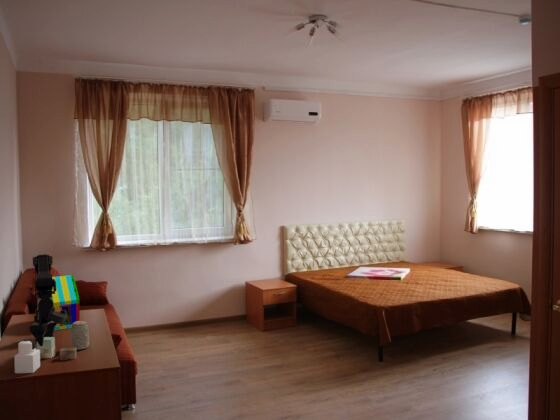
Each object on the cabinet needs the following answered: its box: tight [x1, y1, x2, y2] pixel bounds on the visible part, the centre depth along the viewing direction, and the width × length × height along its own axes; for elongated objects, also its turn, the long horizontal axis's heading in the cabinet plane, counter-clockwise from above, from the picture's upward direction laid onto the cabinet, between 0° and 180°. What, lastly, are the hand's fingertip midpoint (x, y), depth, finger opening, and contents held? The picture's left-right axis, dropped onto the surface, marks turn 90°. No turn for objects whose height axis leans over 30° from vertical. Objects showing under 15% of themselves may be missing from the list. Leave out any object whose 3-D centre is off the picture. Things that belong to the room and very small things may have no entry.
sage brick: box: [36, 336, 56, 350], centre depth 214 cm, size 6×4×4 cm, turn 92°
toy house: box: [52, 274, 81, 332], centre depth 264 cm, size 24×14×25 cm, turn 34°
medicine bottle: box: [13, 338, 41, 374], centre depth 199 cm, size 7×7×12 cm
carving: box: [70, 320, 90, 351], centre depth 224 cm, size 6×8×12 cm
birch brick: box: [36, 346, 56, 359], centre depth 214 cm, size 6×4×4 cm, turn 91°
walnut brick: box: [59, 347, 78, 361], centre depth 213 cm, size 6×4×4 cm, turn 104°
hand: (46, 342), depth 214 cm, fingers open, 9 cm apart
